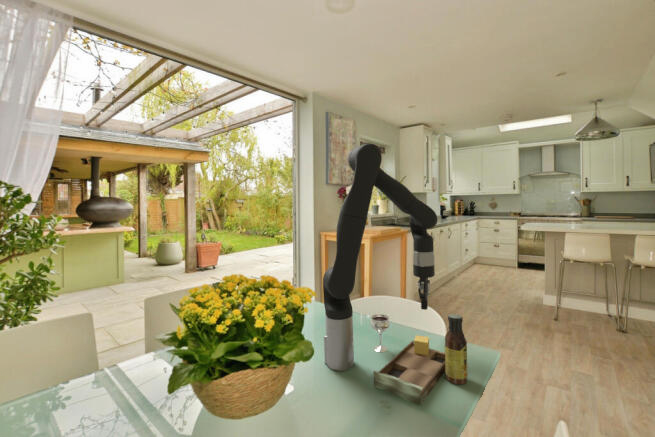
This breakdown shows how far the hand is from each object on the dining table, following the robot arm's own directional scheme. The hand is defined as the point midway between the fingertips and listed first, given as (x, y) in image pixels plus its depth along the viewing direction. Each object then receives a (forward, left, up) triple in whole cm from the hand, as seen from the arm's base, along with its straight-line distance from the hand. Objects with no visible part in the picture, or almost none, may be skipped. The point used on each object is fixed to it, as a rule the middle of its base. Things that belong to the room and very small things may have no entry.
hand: (424, 308), depth 113 cm
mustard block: (+2, -8, -13) cm, 15 cm away
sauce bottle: (+15, -14, -15) cm, 26 cm away
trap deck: (+4, -18, -15) cm, 24 cm away
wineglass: (-13, -11, -15) cm, 22 cm away
